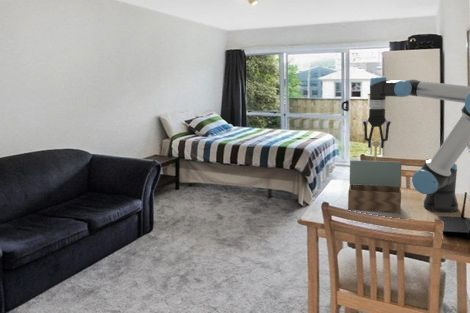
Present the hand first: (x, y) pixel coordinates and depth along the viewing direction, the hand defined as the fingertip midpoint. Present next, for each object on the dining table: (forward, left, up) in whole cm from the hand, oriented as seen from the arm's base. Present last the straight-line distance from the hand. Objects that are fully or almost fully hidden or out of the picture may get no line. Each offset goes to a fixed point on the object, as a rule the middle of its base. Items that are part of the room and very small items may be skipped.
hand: (375, 154), depth 206 cm
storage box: (0, +11, -25) cm, 28 cm away
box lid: (0, +5, -4) cm, 6 cm away
